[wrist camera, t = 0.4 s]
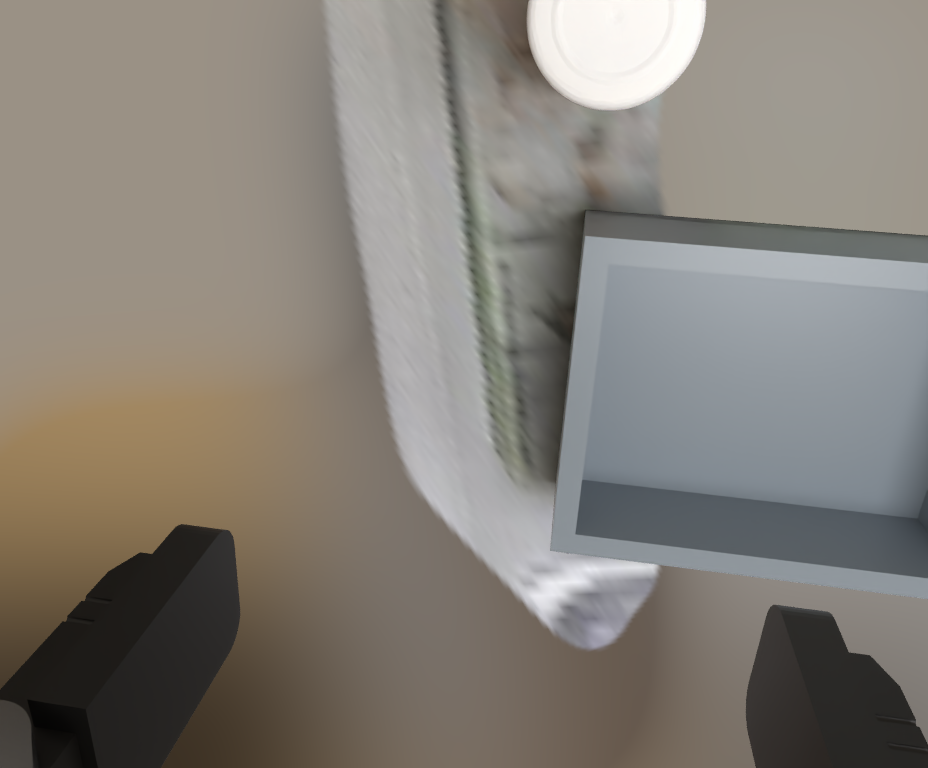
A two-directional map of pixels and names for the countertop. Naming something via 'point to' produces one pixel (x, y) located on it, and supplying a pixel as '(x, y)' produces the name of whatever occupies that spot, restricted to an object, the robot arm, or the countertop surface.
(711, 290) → the tote
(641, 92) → the spice jar
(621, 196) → the countertop surface
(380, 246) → the countertop surface
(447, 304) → the countertop surface
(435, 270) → the countertop surface
